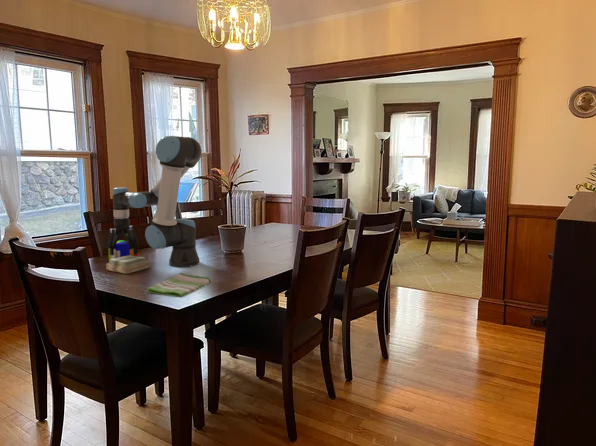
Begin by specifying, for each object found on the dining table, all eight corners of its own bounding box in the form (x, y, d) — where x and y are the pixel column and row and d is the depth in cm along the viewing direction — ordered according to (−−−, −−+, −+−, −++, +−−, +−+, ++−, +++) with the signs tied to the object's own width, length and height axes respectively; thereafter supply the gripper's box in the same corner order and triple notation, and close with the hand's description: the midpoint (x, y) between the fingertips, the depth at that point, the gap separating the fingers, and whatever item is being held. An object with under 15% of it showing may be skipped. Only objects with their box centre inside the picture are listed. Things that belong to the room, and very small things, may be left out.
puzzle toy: (126, 263, 224) (125, 244, 223) (109, 262, 226) (108, 243, 225) (137, 259, 234) (136, 241, 233) (120, 258, 236) (119, 240, 235)
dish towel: (212, 283, 192) (212, 275, 192) (182, 298, 171) (181, 289, 171) (179, 279, 198) (179, 271, 198) (145, 293, 177) (145, 285, 176)
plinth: (149, 267, 217) (149, 257, 217) (126, 273, 205) (126, 263, 204) (129, 264, 224) (129, 254, 223) (106, 269, 212) (105, 259, 211)
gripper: (134, 214, 239) (136, 254, 242) (96, 219, 218) (98, 262, 221) (144, 215, 236) (145, 255, 239) (107, 220, 215) (109, 264, 218)
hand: (123, 258), depth 230 cm, fingers closed on puzzle toy, 11 cm apart
